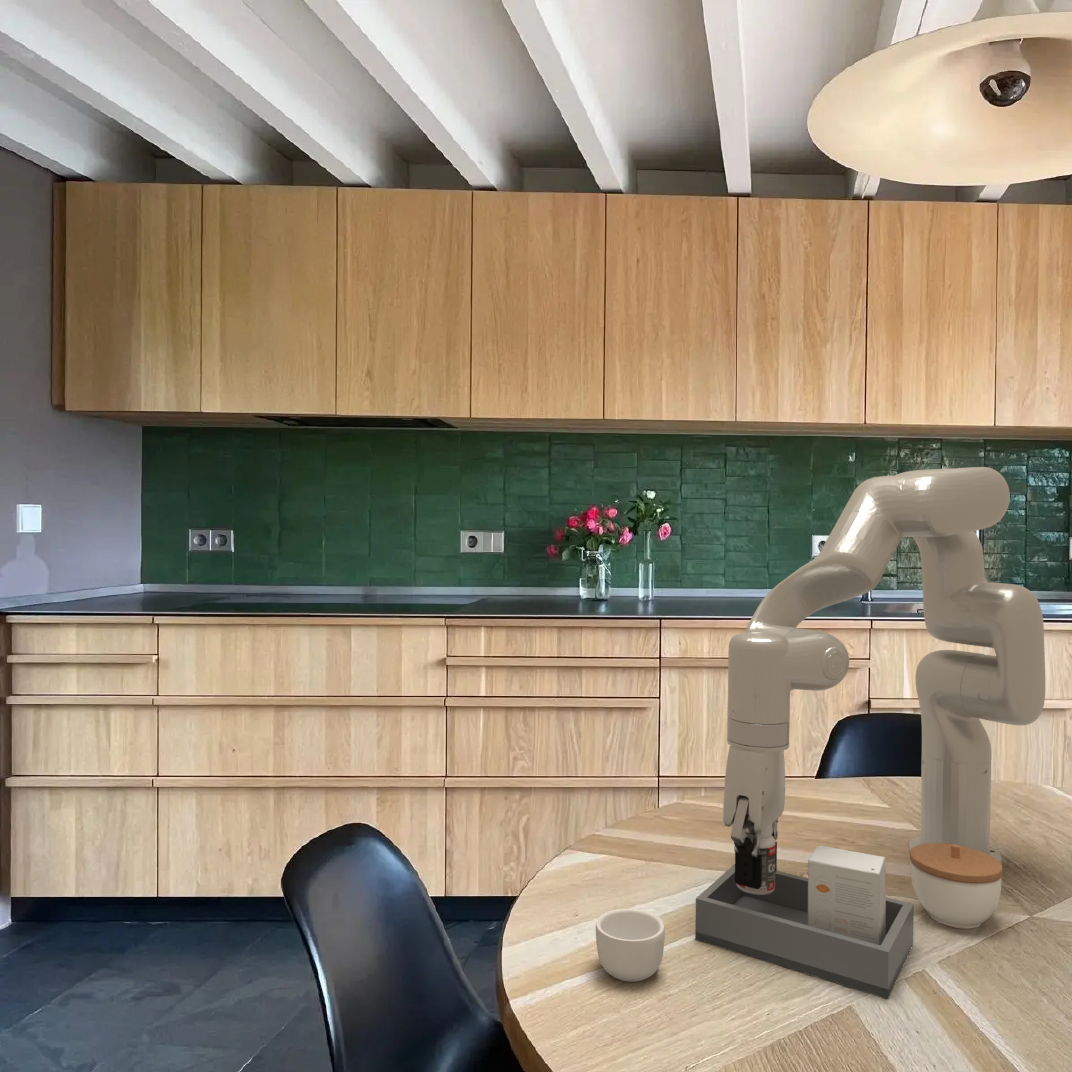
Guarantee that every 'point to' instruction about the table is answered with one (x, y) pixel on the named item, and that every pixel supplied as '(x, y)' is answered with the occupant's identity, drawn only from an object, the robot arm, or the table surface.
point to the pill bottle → (764, 862)
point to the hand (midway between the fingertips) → (755, 876)
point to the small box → (847, 893)
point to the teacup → (630, 943)
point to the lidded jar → (956, 883)
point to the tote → (801, 934)
